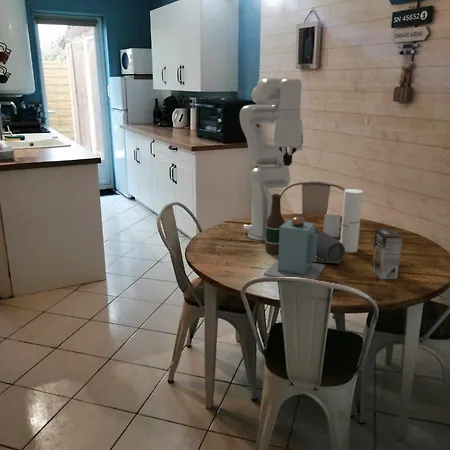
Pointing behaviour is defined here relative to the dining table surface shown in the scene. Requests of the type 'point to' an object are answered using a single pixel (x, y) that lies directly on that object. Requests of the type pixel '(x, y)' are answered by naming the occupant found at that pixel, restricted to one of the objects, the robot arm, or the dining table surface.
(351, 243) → the cylindrical container
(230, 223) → the dining table surface
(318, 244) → the bluetooth speaker
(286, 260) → the teal block
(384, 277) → the coffee box
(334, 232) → the light grey block
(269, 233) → the beer bottle
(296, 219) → the shiny round knob
